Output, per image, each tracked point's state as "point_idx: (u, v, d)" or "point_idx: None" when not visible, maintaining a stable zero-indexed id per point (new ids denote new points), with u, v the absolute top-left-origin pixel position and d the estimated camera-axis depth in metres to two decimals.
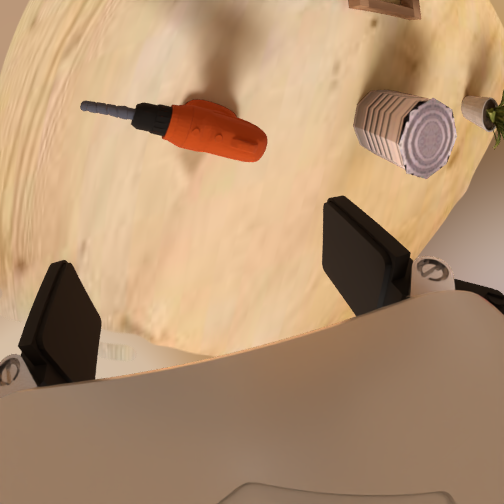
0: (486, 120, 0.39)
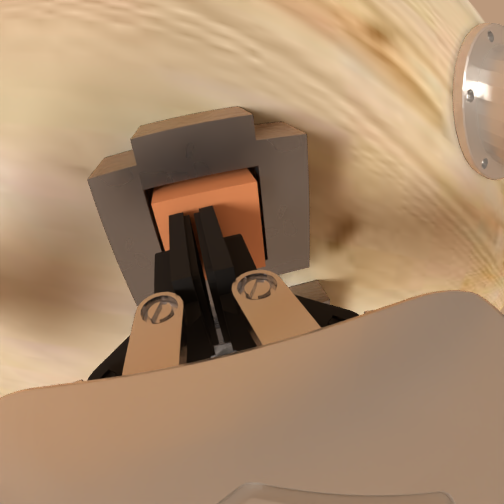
0: None
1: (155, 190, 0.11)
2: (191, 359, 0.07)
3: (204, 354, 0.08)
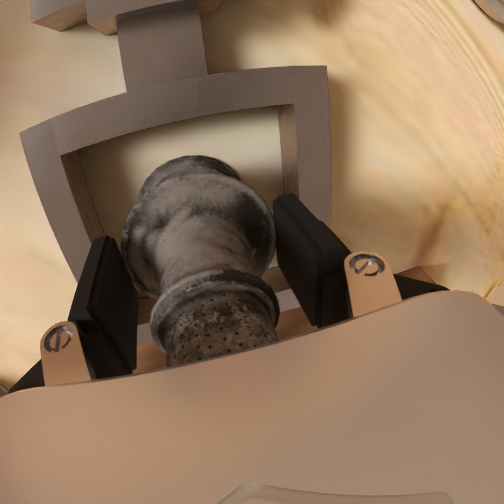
0: None
1: None
2: (100, 377, 0.07)
3: None
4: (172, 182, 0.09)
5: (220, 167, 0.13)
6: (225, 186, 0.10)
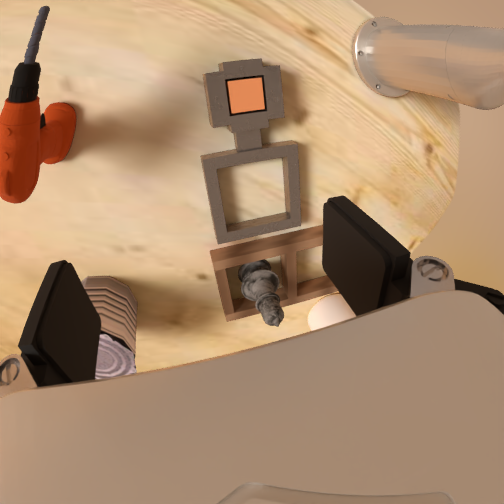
0: None
1: (226, 81, 0.30)
2: None
3: None
4: (256, 272, 0.43)
5: (264, 261, 0.47)
6: (268, 272, 0.44)
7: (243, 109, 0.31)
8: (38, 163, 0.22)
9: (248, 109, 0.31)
